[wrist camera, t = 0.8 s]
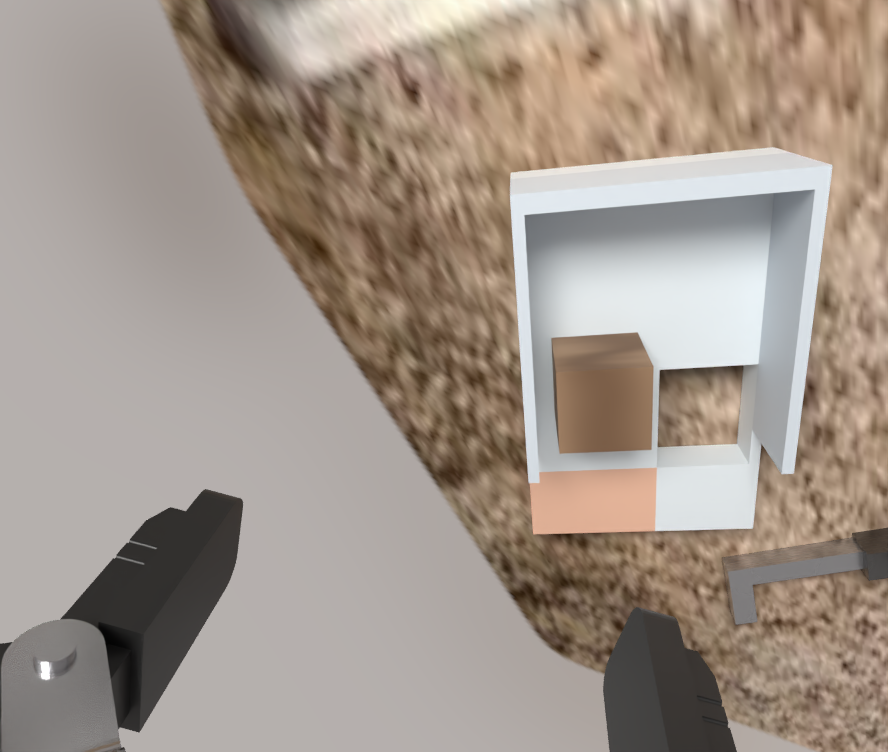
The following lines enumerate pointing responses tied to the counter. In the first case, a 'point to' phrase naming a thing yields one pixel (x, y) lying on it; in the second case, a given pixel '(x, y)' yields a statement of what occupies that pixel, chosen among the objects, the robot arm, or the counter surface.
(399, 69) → the counter surface
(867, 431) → the counter surface
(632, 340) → the walnut cube
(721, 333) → the cubby
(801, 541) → the counter surface
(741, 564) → the hook tool
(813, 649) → the counter surface
